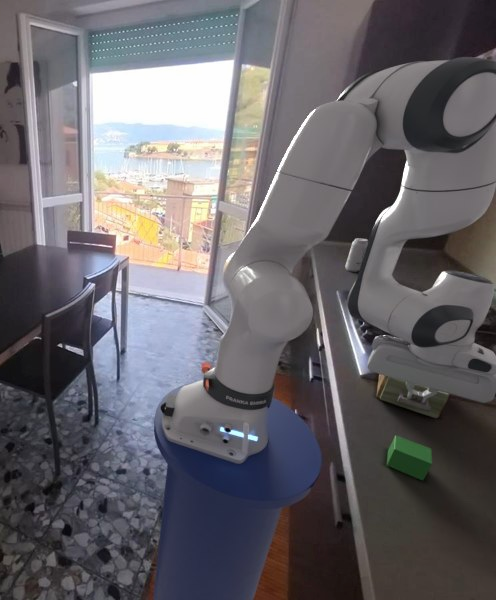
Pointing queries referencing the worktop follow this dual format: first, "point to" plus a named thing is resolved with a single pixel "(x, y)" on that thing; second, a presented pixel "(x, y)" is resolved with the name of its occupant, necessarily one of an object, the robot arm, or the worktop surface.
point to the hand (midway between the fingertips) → (415, 399)
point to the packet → (409, 457)
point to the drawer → (397, 395)
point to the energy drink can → (356, 254)
